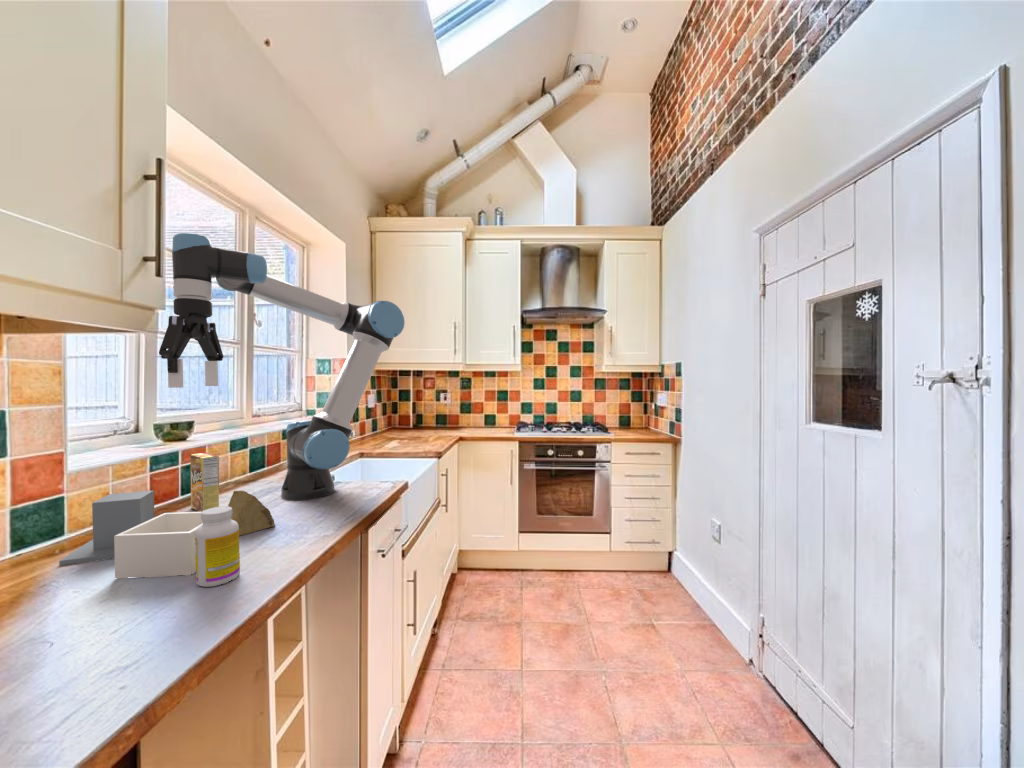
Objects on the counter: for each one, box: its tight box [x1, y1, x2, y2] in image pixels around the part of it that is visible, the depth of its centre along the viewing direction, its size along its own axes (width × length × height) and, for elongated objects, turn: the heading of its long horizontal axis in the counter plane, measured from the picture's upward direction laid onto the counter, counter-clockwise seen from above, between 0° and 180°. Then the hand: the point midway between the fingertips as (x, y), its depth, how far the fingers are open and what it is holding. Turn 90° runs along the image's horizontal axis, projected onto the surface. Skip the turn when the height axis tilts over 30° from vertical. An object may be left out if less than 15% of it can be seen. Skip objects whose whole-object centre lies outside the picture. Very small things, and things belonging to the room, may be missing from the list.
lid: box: [58, 490, 155, 566], centre depth 93 cm, size 15×15×11 cm
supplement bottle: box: [195, 505, 241, 588], centre depth 77 cm, size 7×7×13 cm
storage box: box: [114, 511, 203, 579], centre depth 85 cm, size 13×13×8 cm
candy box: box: [190, 452, 220, 512], centre depth 118 cm, size 9×4×15 cm, turn 55°
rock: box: [227, 490, 276, 537], centre depth 101 cm, size 11×9×10 cm
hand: (195, 386), depth 103 cm, fingers open, 13 cm apart
